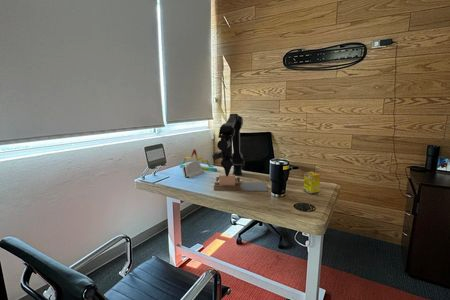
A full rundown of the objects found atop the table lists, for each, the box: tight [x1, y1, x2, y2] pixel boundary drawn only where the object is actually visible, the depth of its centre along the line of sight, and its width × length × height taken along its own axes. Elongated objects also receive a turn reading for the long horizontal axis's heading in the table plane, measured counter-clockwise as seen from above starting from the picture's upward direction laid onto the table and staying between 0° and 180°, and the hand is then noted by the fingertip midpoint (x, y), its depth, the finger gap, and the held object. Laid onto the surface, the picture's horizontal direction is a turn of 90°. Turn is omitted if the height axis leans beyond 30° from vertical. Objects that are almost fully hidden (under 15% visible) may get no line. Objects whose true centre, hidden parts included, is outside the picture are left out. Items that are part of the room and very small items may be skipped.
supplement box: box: [303, 171, 321, 195], centre depth 135 cm, size 6×6×11 cm
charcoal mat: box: [241, 181, 269, 192], centre depth 144 cm, size 14×14×1 cm
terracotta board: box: [218, 174, 236, 186], centre depth 141 cm, size 2×9×8 cm, turn 87°
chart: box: [179, 149, 218, 172], centre depth 182 cm, size 30×3×15 cm, turn 66°
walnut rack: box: [213, 176, 241, 191], centre depth 147 cm, size 17×15×2 cm
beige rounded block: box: [182, 161, 205, 179], centre depth 169 cm, size 17×5×10 cm, turn 149°
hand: (227, 173), depth 140 cm, fingers open, 9 cm apart
